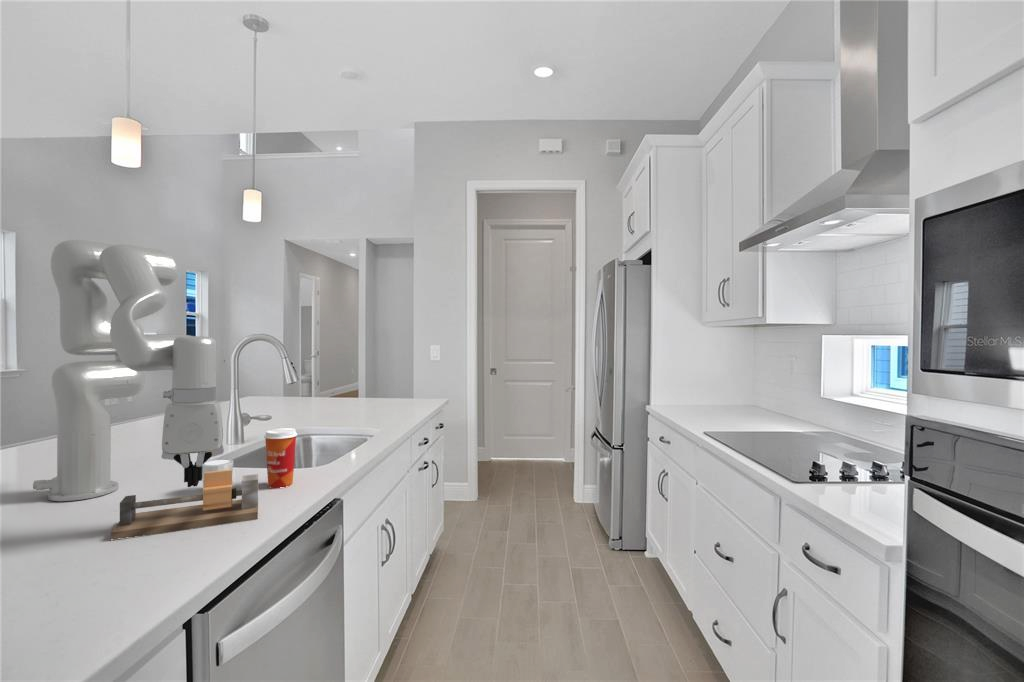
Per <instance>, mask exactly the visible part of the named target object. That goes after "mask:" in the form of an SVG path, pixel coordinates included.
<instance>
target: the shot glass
mask: <svg viewBox="0 0 1024 682" xmlns="http://www.w3.org/2000/svg"><path fill="white" fill-rule="evenodd" d="M230 469H232V472H233V470H234V460H233V459H228V458H224V459H223V458H220V459H212V460H207V461H206V462H205V463H204V464H203V465H202V487H203V489H204V472H211V471H221V470H230ZM203 489H202V490H203Z"/></svg>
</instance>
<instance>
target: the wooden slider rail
mask: <svg viewBox="0 0 1024 682" xmlns="http://www.w3.org/2000/svg"><path fill="white" fill-rule="evenodd" d="M240 496H241V498H240V499H237V497H240ZM136 500H137V494H131V495H126V496H124V497H123V499H122V500H121V501H120V502H119V521H118V523H117V524H116V525H115V526H114V528H113V529H112V530H111V532H110V540H111V539H118V538H125V539H127V538H126V537H132V538H136V537H135V536H139V537H144V536H143V535H146V536H150V535H151V534H152V535H157V534H158V533H159V534H165V533H164V532H166V533H172V531H173V532H177V531H179V532H180V531H184V530H185V529H186V530H191V529H190V528H193V529H198V527H200V528H206V526H207V527H212V526H220V525H225V524H226V523H227V524H232V523H233V522H234V523H239V522H240V521H241V522H246V521H253V520H258V518H259V517H258V516H259V512H258V511H259V474H258V473H257V474H248V475H242V478H241V489H237V487H233V488H232V506H231V507H225V508H218V509H211V510H203V503H201V504H196V505H195V504H194V505H188V506H180V507H172V508H165V509H158V510H156V509H155V510H149V511H142V512H137V511H136V510H137V509H145V508H146V509H147V508H153V507H159V506H160V507H162V506H167V505H177V504H184V503H193V502H199V501H203V493H201V494H195V495H185V496H179V497H178V496H177V497H169V498H161V499H153V500H152V499H151V500H146V501H145V500H144V501H136ZM241 522H240V523H241ZM219 524H220V525H219ZM118 540H119V539H118Z"/></svg>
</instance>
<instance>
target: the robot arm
mask: <svg viewBox="0 0 1024 682" xmlns="http://www.w3.org/2000/svg"><path fill="white" fill-rule="evenodd" d="M50 271H51V275H52V278H53V282H54V283H55V284H54V285H55V286H56V289H57V292H58V295H59V336H60V344H61V348H62V350H63V351H64V352H65V353H66V354H70V355H75V356H114V357H115V360H83V361H82V360H81V361H72V362H68V363H64V364H61V365H60V366H58V367H57V368H56V369H55V370H54V371H53V373H52V375H51V387H52V392H53V396H54V401H55V406H56V424H57V425H56V430H57V432H56V437H57V438H56V442H57V443H56V446H57V447H56V451H57V452H56V453H57V454H56V455H57V456H56V460H57V461H56V463H57V464H56V477H55V476H54V477H52V478H51V479H40V480H33V483H32V488H33V490H36V491H41V490H50V491H49V492H48V493H47V499H48V500H49V501H53V502H72V501H80V500H86V499H92V498H97V497H102V496H105V495H108V494H111V493H113V492H115V491H117V490H118V489H119V482H117V481H115V480H111V454H112V453H111V446H112V445H111V439H112V438H111V437H112V436H111V435H112V434H111V428H112V426H111V424H112V423H111V416H110V413H109V412H108V411H107V410H106V408H105V407H103V406H102V404H100V402H99V401H102V400H109V399H110V400H112V399H122V398H129V397H134V396H136V395H138V394H140V393H141V391H142V390H143V389H144V386H145V382H146V372H155V371H156V372H157V371H158V372H159V371H172V375H171V376H172V377H171V378H172V379H171V380H172V382H171V384H172V385H171V387H172V388H171V389H170V390H168V391H165V390H164V391H163V392H162V393H163V394H162V395H163V396H162V398H163V399H169V400H170V401H171V402H170V403H168V404H166V408H165V411H164V417H163V418H164V419H163V424H162V425H163V426H162V437H161V450H162V454H161V456H160V457H161V459H163V460H171V461H176V463H178V464H179V465H181V466H182V468H183V469H184V470H183V483H187V488H191V487H197V486H198V484H199V482H200V481H202V482H203V480H202V465H203V464H204V463H205V462H207V461H209V460H210V458H212V457H216V456H219V455H220V456H221V455H223V454H224V452H225V448H224V446H223V441H224V440H223V438H224V432H223V431H224V427H223V415H222V409H221V403H220V401H219V400H217V350H218V349H217V342H216V339H215V338H213V337H210V336H201V335H200V336H199V335H198V336H197V335H196V336H195V335H190V334H167V333H166V334H163V333H162V334H159V333H158V334H154V333H153V334H152V333H151V334H149V333H146V334H145V333H144V330H143V328H142V326H141V324H140V323H139V322H138V321H137V320H139V319H142V318H145V317H148V316H151V315H153V314H156V313H157V312H159V311H160V310H162V309H163V308H164V307H165V306H166V304H167V302H168V294H167V292H166V291H165V289H164V287H166V286H171V285H172V284H173V283H175V282H176V280H177V278H178V275H179V267H178V263H177V261H176V259H175V258H174V257H173V256H172V255H171V254H170V252H167V251H165V250H161V249H154V248H150V247H143V246H136V245H132V244H130V245H129V244H108V243H103V242H99V241H97V242H96V241H91V240H90V241H89V240H83V239H82V240H80V239H79V240H78V239H76V240H74V239H72V240H71V239H70V240H64V241H61V242H59V243H58V244H57V245H56V246H55V247H54V248H53V251H52V253H51V257H50ZM93 279H98V280H105V281H107V282H108V283H109V286H110V287H111V290H112V291H113V293H114V295H115V297H116V300H117V301H118V303H119V304H120V305H119V306H118V307H117V309H116V310H115V312H114V313H113V314H112V316H109V314H108V313H109V312H108V298H107V295H106V293H105V292H104V291H103V289H102V288H101V287H100V286H99V284H98V283H97V282H96V281H94V280H93ZM191 454H197V457H196V461H195V462H194V464H193V461H192V458H191Z"/></svg>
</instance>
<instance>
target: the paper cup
mask: <svg viewBox="0 0 1024 682" xmlns="http://www.w3.org/2000/svg"><path fill="white" fill-rule="evenodd" d="M297 436H298V433H297V430H296V428H291V427H289V428H288V427H282V428H281V427H279V428H275V429H270V430H266V432H265V435H264V436H263V438H265V452H266V453H265V456H266V457H265V458H266V471H267V484H268V488H270V487H271V488H270V489H281V488H280V487H284V488H287V487H286V486H288V487H290V485H291V484H292V485H293V481H294V472H295V471H294V467H295V457H296V456H295V454H296V443H297V442H296V441H297V440H296V439H297ZM292 485H291V486H292Z"/></svg>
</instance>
